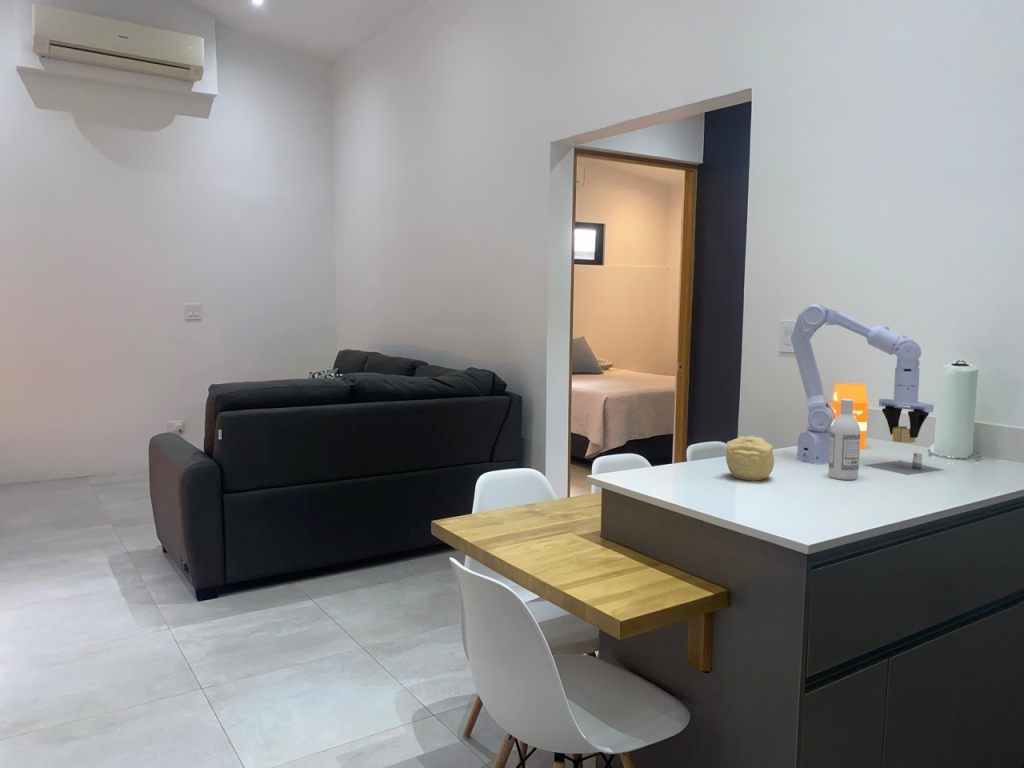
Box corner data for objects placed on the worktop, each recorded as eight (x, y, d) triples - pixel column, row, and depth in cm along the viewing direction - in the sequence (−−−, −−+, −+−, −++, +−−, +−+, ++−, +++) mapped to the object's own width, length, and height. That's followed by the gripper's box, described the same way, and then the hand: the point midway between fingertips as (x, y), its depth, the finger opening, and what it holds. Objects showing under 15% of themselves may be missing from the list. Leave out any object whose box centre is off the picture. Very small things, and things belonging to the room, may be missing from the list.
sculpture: (721, 479, 187) (722, 437, 186) (731, 470, 198) (732, 430, 196) (769, 485, 182) (771, 441, 181) (776, 475, 192) (778, 434, 191)
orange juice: (865, 450, 228) (869, 385, 226) (834, 449, 230) (838, 384, 228) (858, 445, 236) (862, 382, 234) (829, 444, 238) (832, 381, 236)
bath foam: (863, 478, 190) (867, 399, 188) (849, 481, 186) (854, 401, 184) (836, 473, 195) (840, 397, 194) (823, 476, 191) (827, 399, 189)
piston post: (917, 469, 199) (918, 454, 199) (910, 468, 201) (911, 453, 201) (923, 468, 200) (924, 454, 200) (915, 467, 202) (916, 452, 202)
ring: (906, 443, 197) (906, 429, 197) (887, 440, 202) (888, 427, 201) (918, 441, 199) (919, 428, 199) (900, 438, 204) (901, 425, 204)
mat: (907, 476, 193) (907, 474, 193) (863, 466, 204) (863, 465, 204) (944, 471, 199) (944, 469, 199) (899, 461, 211) (899, 460, 211)
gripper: (942, 387, 194) (939, 438, 196) (891, 382, 207) (889, 430, 209) (924, 388, 191) (921, 440, 193) (874, 383, 204) (872, 432, 205)
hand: (903, 435), depth 200 cm, fingers closed on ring, 5 cm apart
